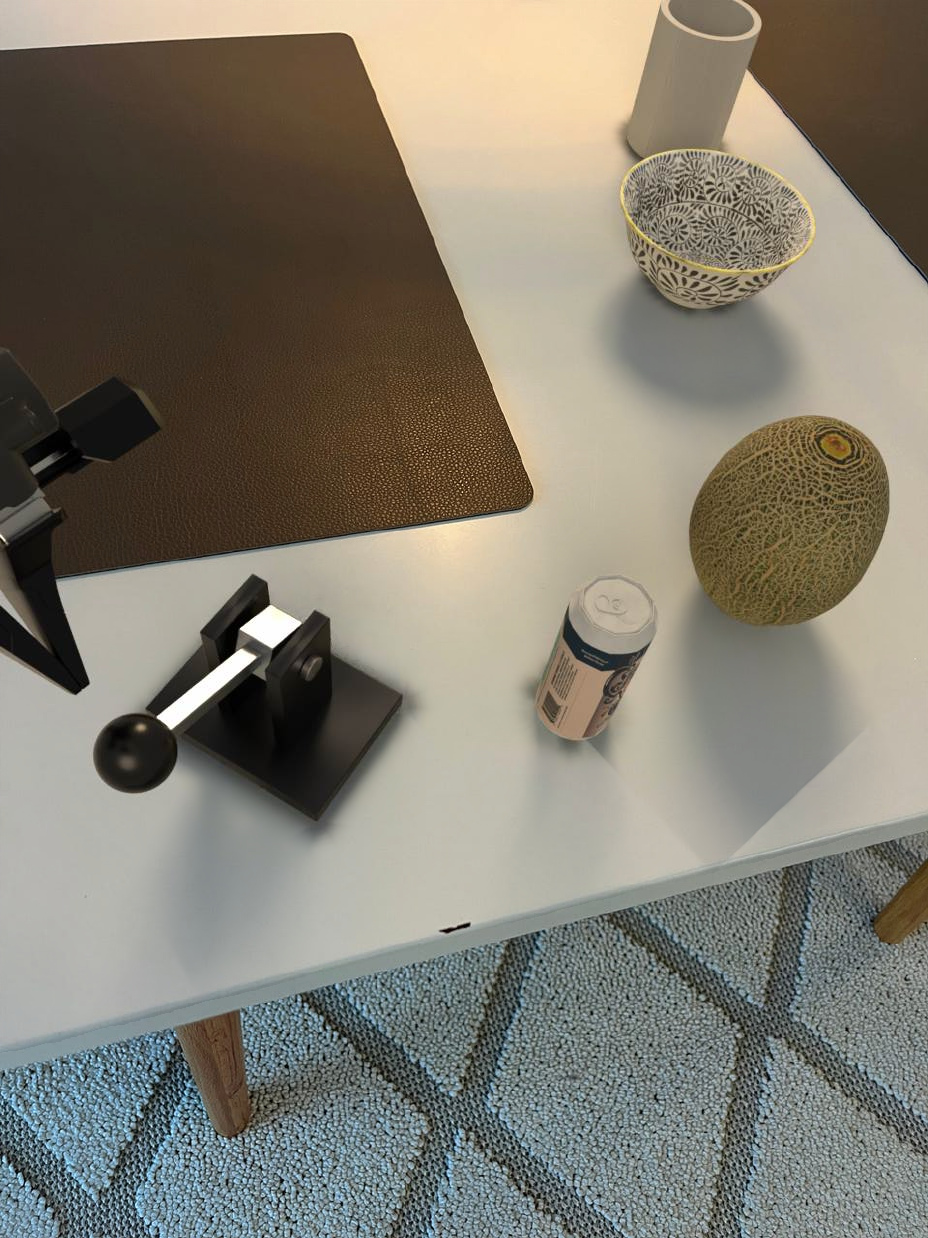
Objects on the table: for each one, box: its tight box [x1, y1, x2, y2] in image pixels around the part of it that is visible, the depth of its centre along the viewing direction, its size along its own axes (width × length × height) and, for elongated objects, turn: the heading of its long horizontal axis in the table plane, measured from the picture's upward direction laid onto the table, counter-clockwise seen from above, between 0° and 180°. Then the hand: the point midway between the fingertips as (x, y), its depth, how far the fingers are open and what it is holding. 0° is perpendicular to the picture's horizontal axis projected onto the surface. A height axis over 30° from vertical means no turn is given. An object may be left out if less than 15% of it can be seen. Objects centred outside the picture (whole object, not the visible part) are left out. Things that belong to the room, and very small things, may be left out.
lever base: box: [144, 573, 403, 823], centre depth 53 cm, size 9×12×10 cm
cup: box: [626, 0, 763, 160], centre depth 89 cm, size 9×9×12 cm
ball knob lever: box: [92, 604, 304, 795], centre depth 46 cm, size 13×4×4 cm, turn 150°
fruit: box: [688, 414, 891, 627], centre depth 59 cm, size 11×11×15 cm
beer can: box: [534, 573, 659, 741], centre depth 54 cm, size 5×5×12 cm
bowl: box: [619, 149, 816, 310], centre depth 79 cm, size 16×16×8 cm
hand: (80, 689), depth 41 cm, fingers closed
